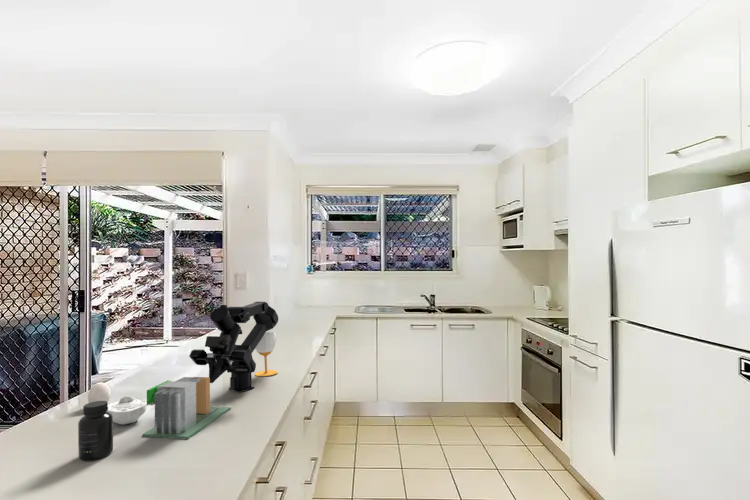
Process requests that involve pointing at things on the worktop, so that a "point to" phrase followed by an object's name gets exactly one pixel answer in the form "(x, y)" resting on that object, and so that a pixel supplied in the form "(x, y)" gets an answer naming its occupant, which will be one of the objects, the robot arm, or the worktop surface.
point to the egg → (99, 393)
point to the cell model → (127, 410)
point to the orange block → (203, 395)
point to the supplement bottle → (95, 432)
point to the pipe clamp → (152, 393)
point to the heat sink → (177, 406)
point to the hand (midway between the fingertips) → (210, 382)
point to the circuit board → (193, 430)
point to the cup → (266, 352)
